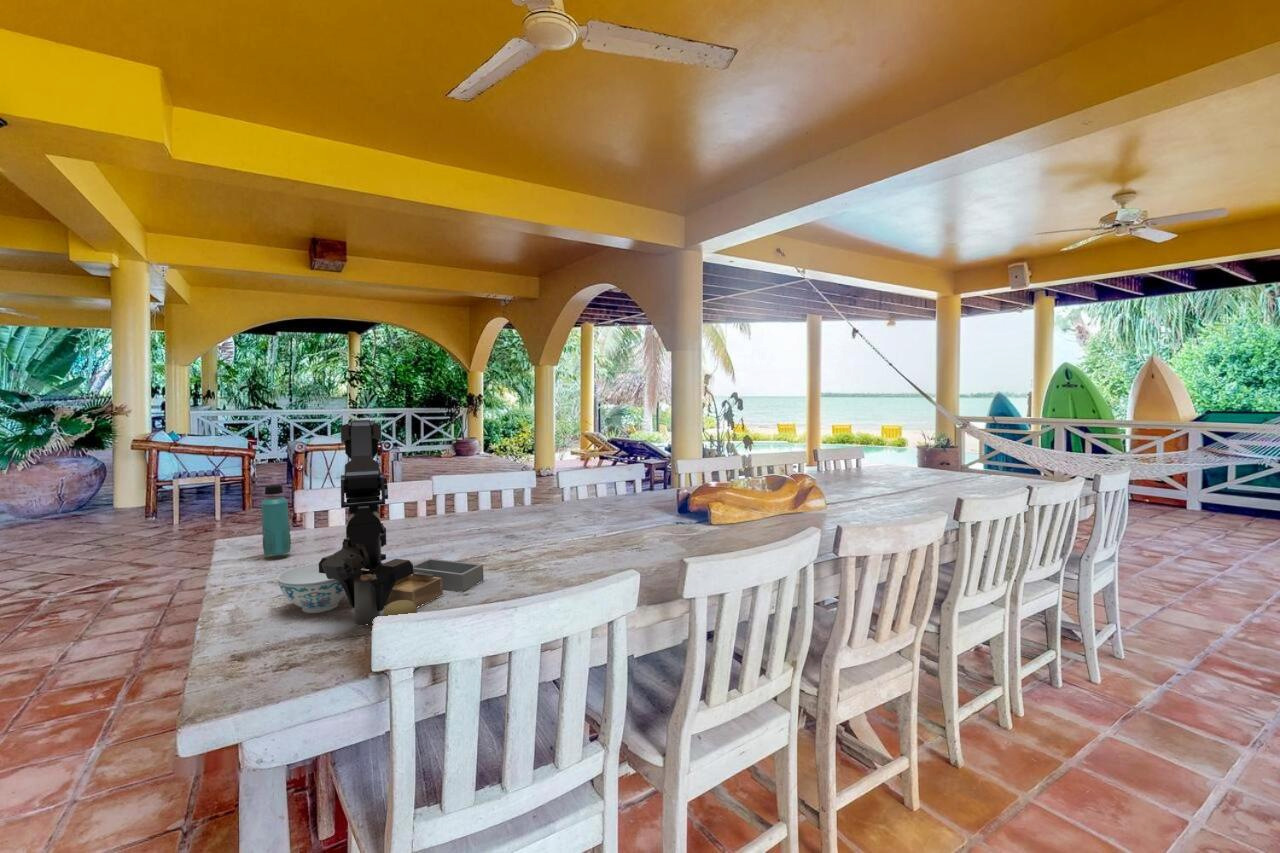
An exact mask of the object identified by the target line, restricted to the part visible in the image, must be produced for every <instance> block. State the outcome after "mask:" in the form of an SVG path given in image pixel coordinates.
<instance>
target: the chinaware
mask: <svg viewBox="0 0 1280 853" xmlns="http://www.w3.org/2000/svg"><path fill="white" fill-rule="evenodd" d="M319 562H320V561H318V562H310V563H306V564H302V565H298V566H295V567H291V568H289V569H286V570H284V571H282V572H280V573H279V574H278V575H277V577H276V579H277V583H278V585H279V588H280V591H281V592H282V594H283V595H284V597H285V598H286V599H287V600H288V601H289V602H290V603H292V604H293V605H296V606H297V607H300V608H302V610H301V611H303V613H307V614H317V613H324V612H327V611H331V610H333V609H335V608H337V607H338V606H339V602H340V601H342V600H343V598H345V597H347V595H346V593H345V591H344V589H343V587H342V585H341V583H340V582H339V581H337V580H335V579H327V577H326V574H324V573H319Z"/></svg>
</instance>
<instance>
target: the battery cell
mask: <svg viewBox="0 0 1280 853" xmlns="http://www.w3.org/2000/svg"><path fill="white" fill-rule="evenodd" d="M374 579H377V577H376V575H372V573H371V574H364V575H361V576H360V577H359V578H356V579H355V580H354V599H355V607H354V619H355V620H354V621H355V623H356V624H357V625H356V624H355V623H354V624H355V625H356V626H358V625H366V624H368V626H372V625H373V624H372V621H373V619H374V618H375V617H377V616H380V617H381V614H380V613H381V611H380V612H378V611H377V607H376V596H375V587H374V586H373V585H372V584H371V583H370V581H372V580H374ZM371 624H372V625H371Z"/></svg>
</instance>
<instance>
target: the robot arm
mask: <svg viewBox="0 0 1280 853" xmlns="http://www.w3.org/2000/svg"><path fill="white" fill-rule="evenodd" d="M382 440H383V439H382V424H379V423H375V422H374V421H373V420H370V419H356V420H351V421H348V423H346V424H342V425H340V443H341V445H344V448H345V449H344V451H345V455H346V456H347V457H348V458H349V459H350V460H349V461H347V463H345V464H344V475H342V474H341V475H340V508H341V509H347V523H346V527H345V532H346V534H345V535H346V537H345V538H344V539H343V541H342V543H341V544H342V548H341V549H340V550H338V551H336V552H334V553H333V554H329V555H327V556H324V557H322V558H321V559H320V561H318V562H319V573H324V574H326V577H327V579H335V580H337V581H339V582H340V583H341V585H342V587H343V589H344V591H345V593H346V597H347V600H348V601H349V605H350V606H351V608H354V609H355V599H354V580H355V579H356V578H359V577H360V576H361V575H364V574H371V575H372V574H373V573H375V576H376V577H377V579H374V580H372V581H370V583H371V584H372V585H373V586H374V587H375V596H376V607H377V611H378V612H380V613H381V612H382V611H384V609H385V607H384V606H385V604H386V602H387V599H388V597H389V595H390V592H391V590H392V588H393V587H394V585H395V583H396V581H398V580H400V579H402V578H405V577H407V576H409V575H411V574H413V565H414V564H413V562H412V561H411V560H410V559H402V558H394V559H391V560H388V561H387V562H382V561H385V560H386V559H387V554H386V553H382V548H383V547H384V546H387V527H385V526H384V523H383V522H382V521H381V511H380V509H381V508H380V505H382V506H384V505H386V500H389V488H388V477H387V476H386V474H385V473H384V472H381V470H380V469H381V468H380V463H379V461H377V460H375V457H376V456H377V454H378V453H379V443H382ZM380 497H381V498H380ZM345 499H346V501H345Z"/></svg>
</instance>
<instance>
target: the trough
mask: <svg viewBox="0 0 1280 853" xmlns="http://www.w3.org/2000/svg"><path fill="white" fill-rule="evenodd" d="M415 572H418V573H426V574H434V577H439V578H442V585H443V590H444V589H446V590H445V591H451V590H455V591H454V592H458V591H464V592H466V591H467V589H468V590H469V588H470V587H471V588H473V587H474V585H475V586H477V585H478V584H477V583H479V582H481V581H483V580H484V579H485V578H484V564H482V563H481V564H479V563H471V562H462V561H454V560H447V559H438V558H428V559H425V560H423V561H420V562H418V563H415V564H413V573H415ZM483 582H484V581H483ZM481 583H482V582H481ZM476 584H477V585H476ZM479 584H480V583H479ZM472 586H473V587H472ZM471 588H470V589H471ZM465 590H466V591H465Z"/></svg>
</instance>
